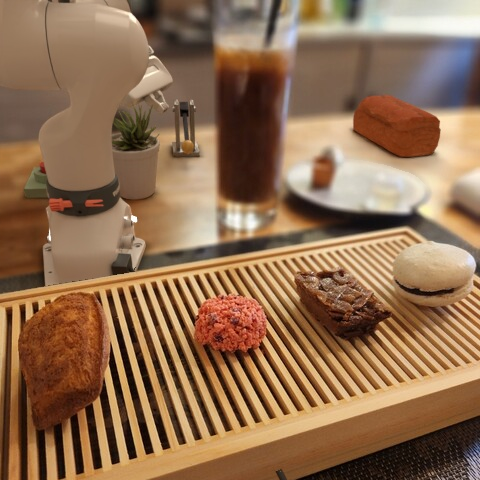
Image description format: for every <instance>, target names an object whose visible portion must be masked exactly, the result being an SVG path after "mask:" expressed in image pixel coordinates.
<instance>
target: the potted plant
mask: <svg viewBox="0 0 480 480" xmlns="http://www.w3.org/2000/svg"><path fill="white" fill-rule="evenodd" d="M132 105H133V103H132ZM152 106H153V104H152ZM152 106H150V108H149V110H148V114H147V117H146V111H144V112H143V115H142V107H141V106H140V105H138V110H139V113H138V110H137V109H136V107H135V106H134V105H133V107H132V108H133V110H134V114H135V121H134V119H133V117H132V115H131V114H130V113H129V112H128V111H124V110H123V109H121V112H122V113H123V114H124V115H125V116H126V118H127V119H128V121H129V123H128V122H127V121H126V120H125V118H124V117H123V114H122V113H121V112H120V110H119V108H118V109H117V113H119V116H120V118H121V119H118V118H116V116H115V117H114V120H113V126H115V128H116V129H118V131H119V133H113V134H112V154H113V163H114V171H115V173H116V174H117V176H118V180H119V183H120V197H121V198H122V199H125V200H143V199H147V198H149V197H151V196H152V195H153V194H154V193H155V191H156V186H157V185H156V183H157V173H158V172H157V171H158V158H159V157H158V156H159V151H160V140H159V138H158V137H159V136H160V133H158V134H157V135H156V136H154V135H152V133H153V132H154V131H155V129H157V127H156V126H157V124H155V125H154V126H153V127H150V129H149V130H148V126H149V123H150V118H151V112H152V109H153V108H152Z"/></svg>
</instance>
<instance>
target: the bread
mask: <svg viewBox="0 0 480 480" xmlns="http://www.w3.org/2000/svg"><path fill="white" fill-rule="evenodd" d="M440 125H441V121H440V119H439V118H438V116H436V115H434V114H432V113H430V112H428V111H426V110H423V109H421V108H420V107H418V106H415V105H413V104H411V103H408V102H405V101H404V100H401V99H398V98H397V97H395V96H393V95H391V94H381V95H369V96H366V97H365V98H363V99H362V100H360V102H359V104H358V106H357V108H356V109H355V110H354V113H353V117H352V127H353V128H352V129H353V130H354V131H355V132H356V133H358V134H360V135H361V136H363V137H365V139H368V140H369V141H372V142H373V143H375V144H377V145H379V146H380V147H381V148H384V149H385V150H387V151H388V152H390V153H392V154H393V155H394V156H398V157H402V158H403V157H404V158H413V157H421V156H428V155H429V156H430V155H431V154H434V152H435V150H436V149H437V148H438V147H439V142H440V139H441V131H442V130H441V127H440Z"/></svg>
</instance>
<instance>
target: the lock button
mask: <svg viewBox="0 0 480 480" xmlns="http://www.w3.org/2000/svg"><path fill="white" fill-rule="evenodd" d="M39 166H40V170H41V173H44V174H46V170H45V166H44V162H43V161H40V162H39V165H38V167H39Z"/></svg>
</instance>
